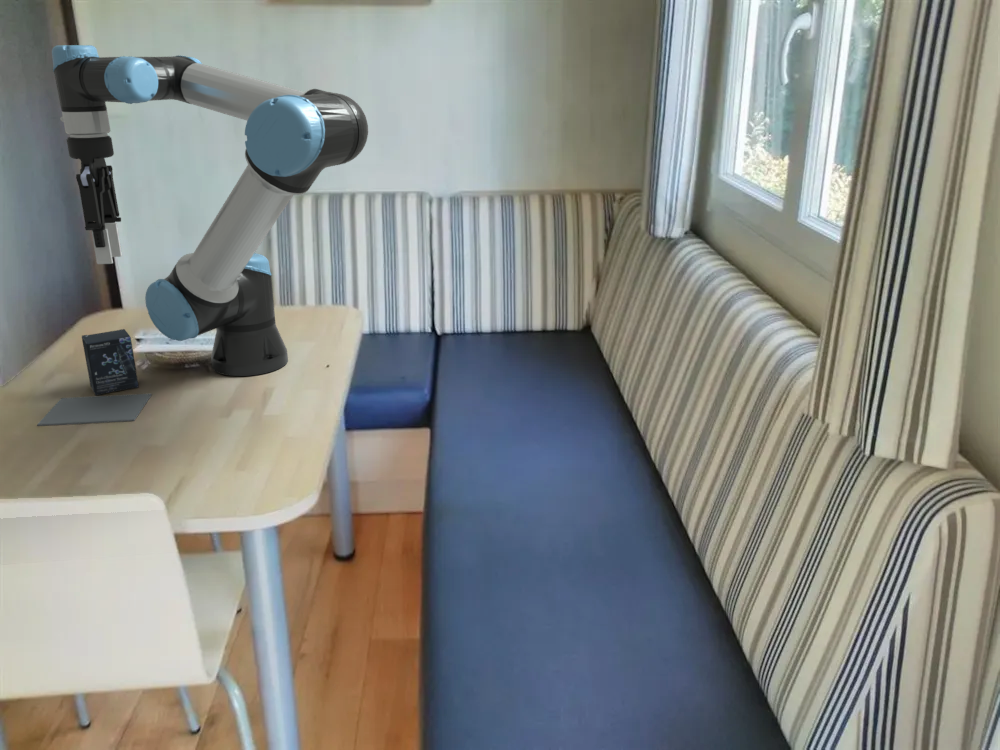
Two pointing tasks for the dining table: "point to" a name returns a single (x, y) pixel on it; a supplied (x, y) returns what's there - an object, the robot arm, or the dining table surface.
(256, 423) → the dining table surface
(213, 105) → the robot arm
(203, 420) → the dining table surface
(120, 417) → the mat
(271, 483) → the dining table surface
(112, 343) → the box
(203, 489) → the dining table surface
